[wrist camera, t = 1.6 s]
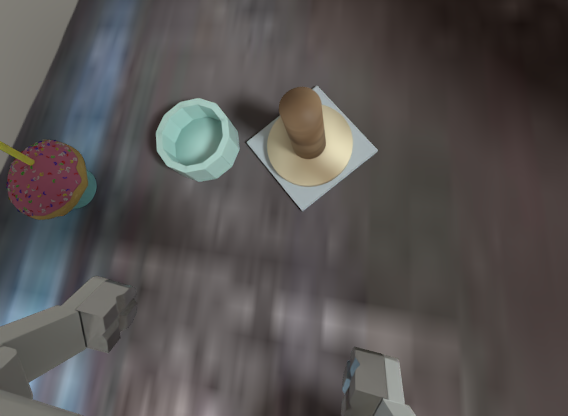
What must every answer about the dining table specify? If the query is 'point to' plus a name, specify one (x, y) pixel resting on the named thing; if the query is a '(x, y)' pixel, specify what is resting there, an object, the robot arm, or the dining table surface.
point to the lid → (308, 140)
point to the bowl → (197, 140)
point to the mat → (311, 194)
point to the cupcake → (48, 179)
